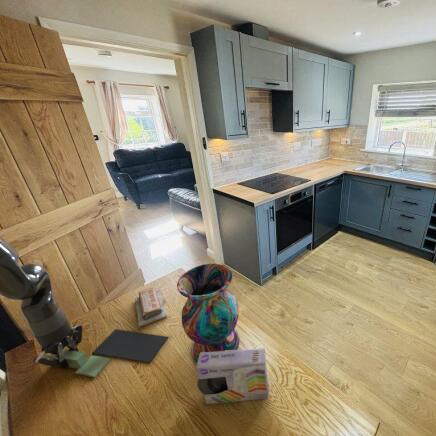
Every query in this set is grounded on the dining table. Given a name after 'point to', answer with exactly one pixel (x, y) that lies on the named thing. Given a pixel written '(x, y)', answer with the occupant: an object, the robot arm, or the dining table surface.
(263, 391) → the cake pan box
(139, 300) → the packaged product
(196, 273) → the vase
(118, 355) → the mat
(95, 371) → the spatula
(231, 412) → the dining table surface
